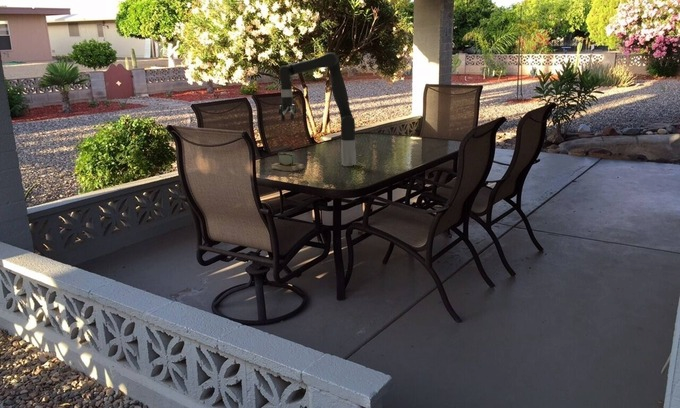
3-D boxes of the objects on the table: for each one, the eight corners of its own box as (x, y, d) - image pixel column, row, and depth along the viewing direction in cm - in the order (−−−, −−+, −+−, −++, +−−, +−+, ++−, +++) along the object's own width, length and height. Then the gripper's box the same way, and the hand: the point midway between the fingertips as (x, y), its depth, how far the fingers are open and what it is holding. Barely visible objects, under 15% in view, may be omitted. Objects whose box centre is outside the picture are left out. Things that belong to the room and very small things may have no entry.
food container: (298, 167, 388) (298, 152, 386) (293, 168, 383) (292, 153, 381) (283, 166, 395) (283, 151, 392) (278, 167, 389) (277, 152, 387)
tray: (284, 166, 398) (284, 161, 398) (303, 168, 387) (303, 164, 387) (271, 168, 389) (271, 164, 389) (291, 171, 378) (291, 167, 378)
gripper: (290, 95, 402) (291, 119, 405) (275, 96, 391) (276, 121, 395) (298, 95, 397) (299, 119, 401) (283, 97, 386) (284, 121, 390)
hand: (287, 120), depth 398 cm, fingers open, 8 cm apart
